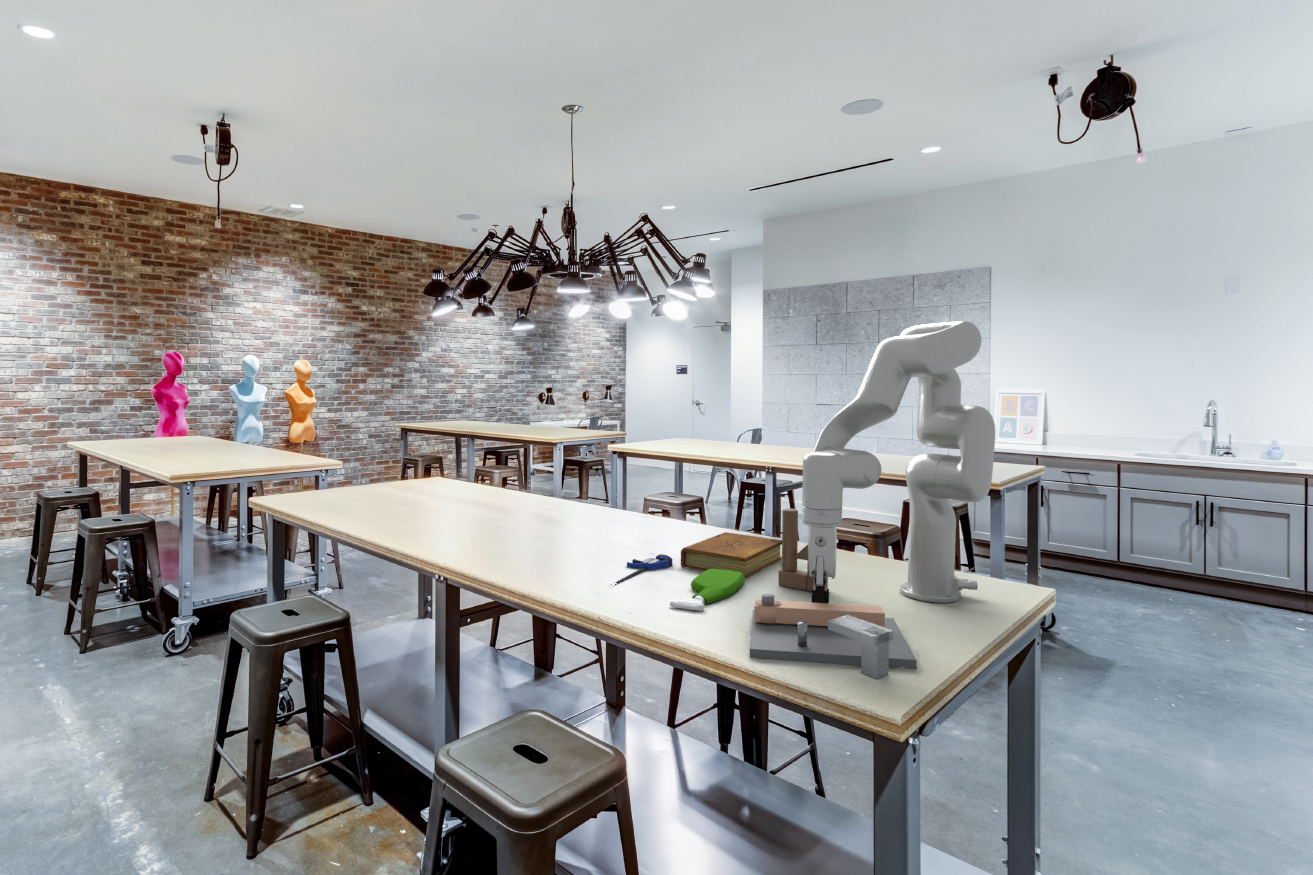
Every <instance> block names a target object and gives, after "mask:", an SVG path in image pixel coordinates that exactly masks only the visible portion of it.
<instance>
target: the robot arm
mask: <svg viewBox="0 0 1313 875" xmlns="http://www.w3.org/2000/svg"><path fill="white" fill-rule="evenodd" d="M981 346H982V334H981V332H980V330H979V328H978V327H977V325H976V324H975V323H973V322H971V321H968V320H960V321H959V320H957V321H948V322H947V321H946V322H935V323H925V324H918V325H913V326H910V327H908V328H905V329H904V330H902V332H901V333H900V335H898V336H897V335H896V336H891V337H888V338H886V339H884V340H882V341H881V342H880V343H878V345H877V347H876V349H875V351H874V354H873V356H872V358H871V360H870V362H869V365H868V367H867V370H866V372H865V373H864V377H863V380H862V382H861V385H860V387H859V388H858V392H857V394H856V396H855V398H853V400H852V401H851V402H849V403H848V404H847V405H845V406H844V407H843V408H842V409H841V410H840V411H838V413H837V414H835V415H834V416H833V417H832V418H831V419H830V420H829V421H828V422H827V424H826V425H825V426H824V427H823V429H822V431H821V432H820V434H819V436H818V439H817V441H816V444H815V446H814V449H813V451H810V452H808V453H806V454H805V455H804V456H803V459H802V490H801V491H802V495H801V496H802V497H801V499H802V500H801V501H802V502H801V505H802V506H801V523H802V524H803V525H806V526H807V545H808V560H807V562H808V565H809V575H810V576H811V577H812V576H813V587H812V592H811V603H829V604H830V601H829V599H830V588H828V587H829V578H831V580H834V579H835V578H836V574H837V573H836V572H837V571H836V570H837V545H838V544H837V540H838V539H837V527H840V526H842V525H843V495H844V494H843V492H844V489H845V488H846V489H857V490H862V489H867V488H870V487H872V486H874V485H875V484H876V483H877V482H878V481H879V479H880V478H881V475H882V464H881V461H880V460H879V458H878V457H877V456H876V455H875V454H873V453H871V452H869V451H866V450H861V449H850V448H846V446H847V444H848V443H849V442H850V440H852V439H853V438H854V437H855V436H856V435H857V434H859V433H861V432H863V431H865V430H866V429H868V428H870V427H873V426H875V425H877V424H880V423H883V422H885V421H887V420H889V419H891V418H893V417H894V416H895V415H896V413H897V412H898V410H899V407H900V404H901V402H902V400H903V397H904V394H905V392H906V390H907V387H908V385H909V383H910V380H911V379H912V378H917V381H918V402H917V403H918V405H917V416H916V417H917V419H916V435H917V436H916V437H917V438H918V441H919V442H920V443H921V444H922V445H924V446H927V447H930V448H938V449H947V450H948V449H950V450H960V455H952V454H941V453H921V454H917V455H916V456H914V457H913V458H912V459H911V460H909V462H908V464H907V466H906V469H905V470H906V471H905V480H906V486H907V491H908V499H909V500H908V501H909V526H908V527H909V528H908V530H909V532H908V556H907V557H908V563H907V564H908V565H907V568H908V569H907V581H906V582H904V583H902V584H901V585H900V587H899V588H900V590H899V591H900V593H902V594H903V595H904V596H906V597H909V598H910V599H914V600H916V601H917V600H918V601H923V602H930V603H941V604H942V603H954V602H957V601H959V600H961V599H962V592H961V591H963V590H972V591H977V590H978V588H979V586H978V581H977V580H969V579H968V578H958V577H957V576H956V574H955V566H956V565H955V562H956V559H955V558H956V537H957V536H956V534H957V533H956V532H957V530H956V528H957V518H956V513H955V510H954V508H953V506H952V504H951V502H950V500H951V501H958V502H964V503H965V502H966V503H978V502H981V501H983V500H985V499H986V498H987V496H988V495H989V492H990V489H991V486H992V480H993V471H994V470H993V469H994V458H995V456H994V455H995V446H996V445H995V444H996V424H995V421H994V417H993V415H992V414H991V412H990V411H989V410H988V409H987V408H985V407H982V406H979V405H970V404H961V403H962V401H961V397H962V396H961V395H962V382H961V378H960V375H959V373H958V372H957V370H956V368H959V367H960V366H963V365H964V364H968V363H969V362H971V361H972V360H973V359H974V358H976V356H977V355H978V353H979V351H980V349H981Z"/></svg>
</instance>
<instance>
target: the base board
mask: <svg viewBox="0 0 1313 875" xmlns="http://www.w3.org/2000/svg"><path fill="white" fill-rule="evenodd" d="M885 628H887V629H890V630H893V640H890V641H889V668H899V669H910V670H911V669H912V670H913V669H915V670H917V662H918V661H917V660H918V659H917V658H916V656H915V654H914V653H913V651H912V649H911V647H910V645H909V644H908V642H907V641H906V638H905V637H904V635H903V633H902V631H901V629H900V628H899V627H898V624H897V621H895V619H894V618H893V617H885ZM749 640H750V642H749V658H753V659H755V658H756V659H765V660H767V659H769V660H781V661H782V660H785V661H795V662H808V663H809V662H810V663H811V662H812V663H828V664H840V665H855V666H861V645H862V642H860V641H857V640H855V639H852V638H849V637H847V636H844V635H841V634H839V633H836V632H833V631H831V630H828V626H817V625H807V647H800V646H798V624H784V623H770V624H769V623H761V622H754V609H753V610H752V613H751V627H750V639H749Z"/></svg>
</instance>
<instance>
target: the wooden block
mask: <svg viewBox="0 0 1313 875" xmlns="http://www.w3.org/2000/svg"><path fill="white" fill-rule="evenodd" d="M781 515H782V520H781V523H782V526H781V528H782V529H781V532H782V533H781V540H782V545H781V557H782V560H781V569H779V570H778V580H777V582H778V583H777V585H778V586H781V587H786V588H790V589H796V590H801V591H804V592H805V591H807V592H809V593H812V587H813V576H812V577H811V576H810V575H809V565H808V544H806V545H805V546H804V547H803V548H802V549H801V550H800V551H798V548H799V547H798V545H799V544H798V543H799V542H798V538H799V537H798V536H799V534H798V533H799V510H798V509H796V508H783V509H782V514H781ZM798 560H803V561H807V567H806V569H807V570H806V571H805V570H800V569H798Z"/></svg>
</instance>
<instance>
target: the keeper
mask: <svg viewBox="0 0 1313 875" xmlns="http://www.w3.org/2000/svg"><path fill="white" fill-rule="evenodd" d="M828 630H831V631H833V632H836V633H839V634H841V635H844V636H847V637H849V638H852V639H855V640H857V641H860V642H862V645H861V665H860V673H862V674H863V675H865V676H869V677H871V678H873V679H875V680H878V679H880V678H883V677H885V676H888V675H889V668H890V667H889V641H890V640H893V630H890V629H887V628H885V627H882V626H879V625H876V624H873V623H870V622H867V621H864V620H861V619H858V618H855V617H852V616H849V615H845V616H842V617H838V618H835V619H832V620H829V621H828ZM798 646H800V647H807V622H805V621H799V622H798Z"/></svg>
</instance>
